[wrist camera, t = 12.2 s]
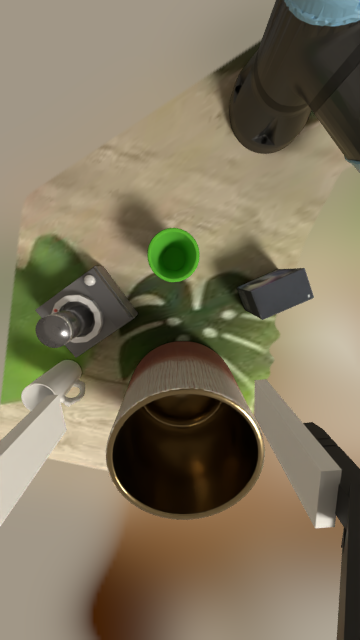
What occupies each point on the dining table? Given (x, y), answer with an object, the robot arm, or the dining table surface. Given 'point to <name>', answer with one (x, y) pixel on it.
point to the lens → (63, 326)
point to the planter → (184, 435)
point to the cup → (173, 255)
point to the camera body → (92, 307)
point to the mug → (55, 385)
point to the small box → (275, 292)
